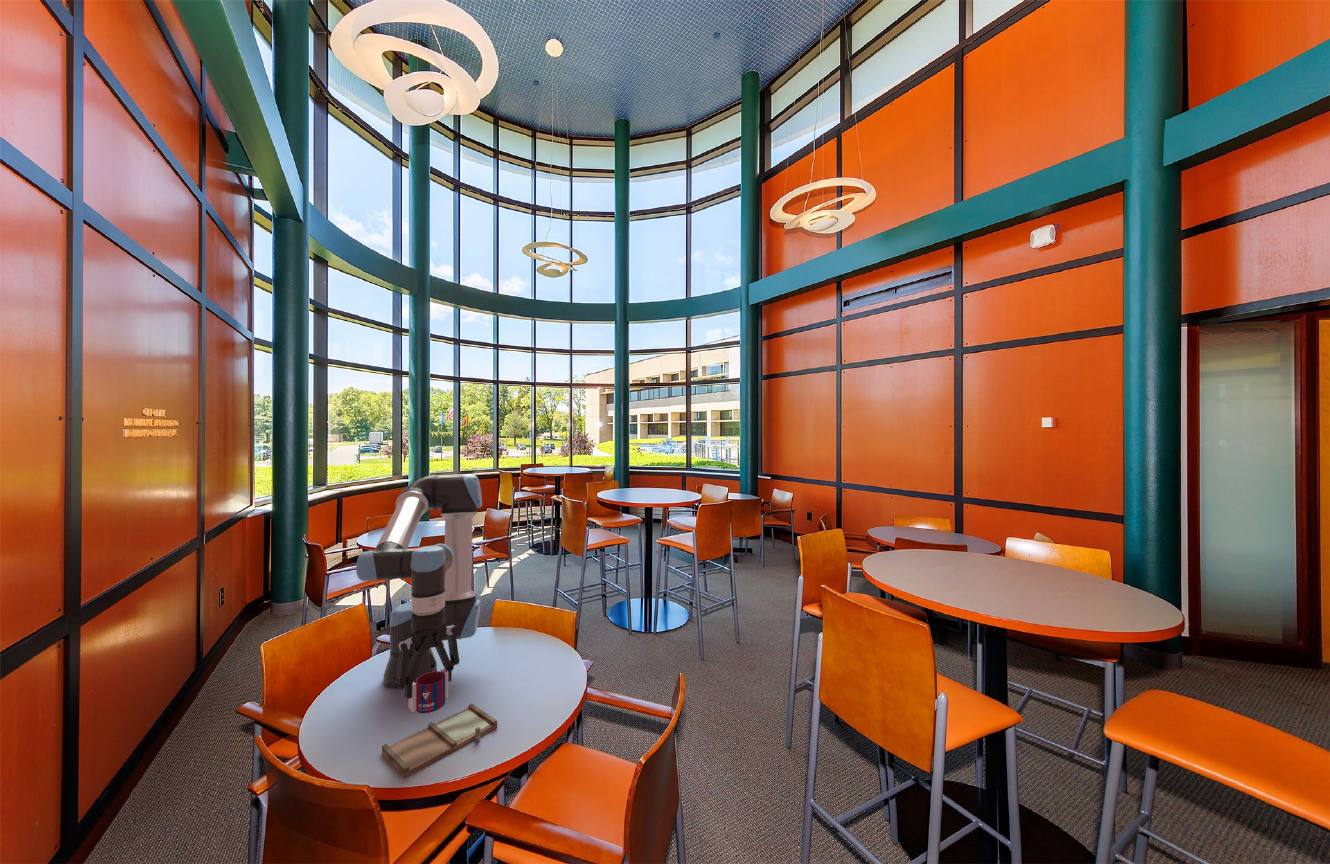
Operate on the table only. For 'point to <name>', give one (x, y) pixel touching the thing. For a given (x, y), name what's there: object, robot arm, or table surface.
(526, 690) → the table surface
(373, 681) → the table surface
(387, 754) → the brown divided flat frame
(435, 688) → the mug
